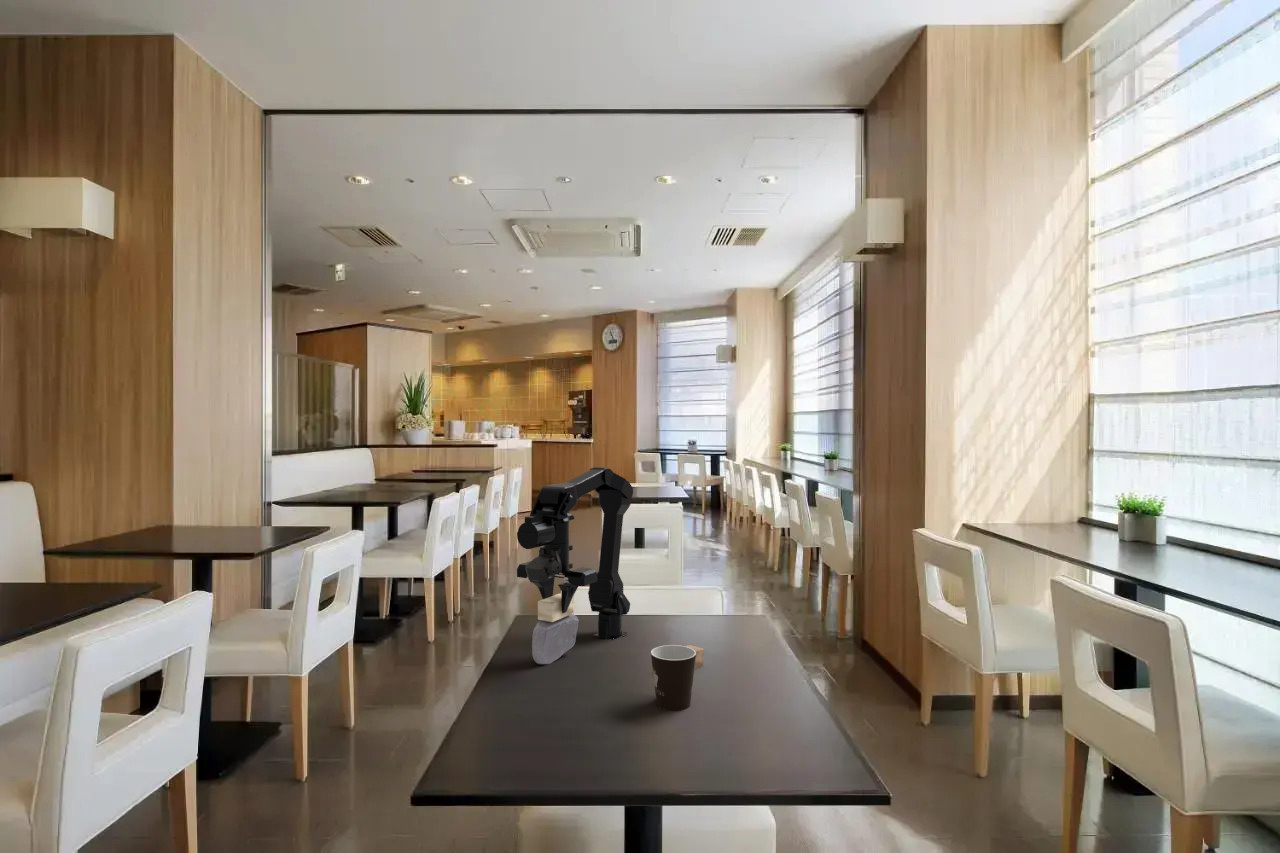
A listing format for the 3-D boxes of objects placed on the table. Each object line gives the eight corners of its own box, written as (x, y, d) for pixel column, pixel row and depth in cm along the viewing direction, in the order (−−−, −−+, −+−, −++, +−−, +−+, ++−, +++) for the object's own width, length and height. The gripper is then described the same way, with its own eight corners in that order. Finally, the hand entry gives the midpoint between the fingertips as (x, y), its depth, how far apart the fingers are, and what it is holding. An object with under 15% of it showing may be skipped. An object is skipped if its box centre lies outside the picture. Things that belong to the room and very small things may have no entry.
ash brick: (559, 610, 159) (559, 593, 159) (573, 613, 157) (573, 595, 157) (537, 619, 152) (537, 601, 152) (552, 622, 150) (552, 603, 150)
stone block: (544, 671, 148) (544, 625, 148) (529, 666, 151) (529, 621, 151) (581, 656, 158) (581, 613, 158) (566, 652, 161) (566, 609, 160)
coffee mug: (693, 716, 126) (693, 661, 126) (646, 712, 128) (646, 658, 128) (700, 691, 137) (700, 641, 137) (657, 688, 139) (657, 639, 139)
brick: (689, 662, 155) (689, 644, 155) (703, 666, 152) (703, 648, 152) (666, 672, 149) (666, 653, 148) (681, 676, 146) (681, 658, 146)
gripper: (500, 543, 152) (500, 614, 152) (569, 551, 143) (569, 627, 143) (532, 536, 162) (532, 602, 162) (598, 543, 152) (598, 613, 152)
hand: (556, 611), depth 154 cm, fingers closed on ash brick, 4 cm apart
